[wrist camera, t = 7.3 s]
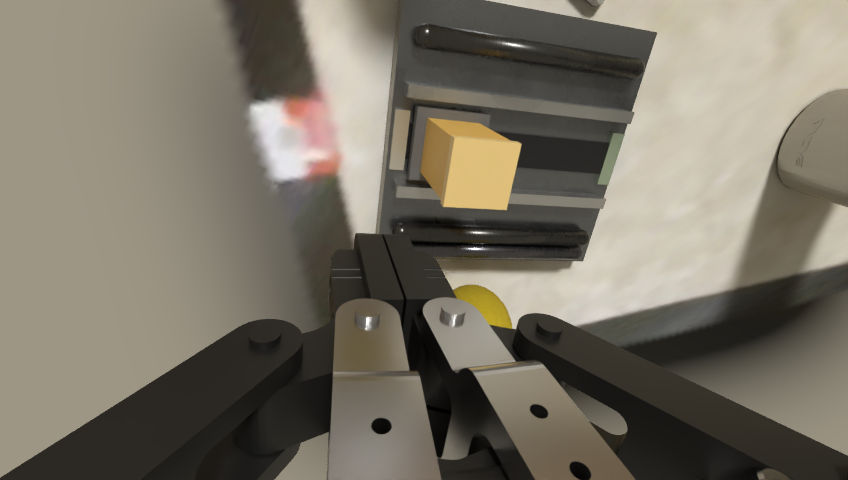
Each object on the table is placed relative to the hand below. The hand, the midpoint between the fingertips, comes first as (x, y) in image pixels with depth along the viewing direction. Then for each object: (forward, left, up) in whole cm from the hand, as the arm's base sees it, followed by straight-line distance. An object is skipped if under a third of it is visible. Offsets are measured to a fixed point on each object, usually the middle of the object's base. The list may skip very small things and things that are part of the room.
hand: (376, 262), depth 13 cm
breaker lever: (-7, 0, -17) cm, 19 cm away
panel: (-12, 0, -19) cm, 22 cm away
